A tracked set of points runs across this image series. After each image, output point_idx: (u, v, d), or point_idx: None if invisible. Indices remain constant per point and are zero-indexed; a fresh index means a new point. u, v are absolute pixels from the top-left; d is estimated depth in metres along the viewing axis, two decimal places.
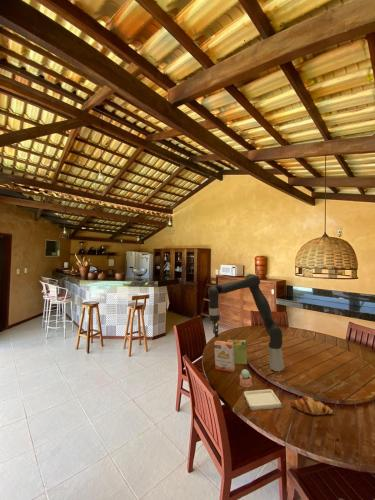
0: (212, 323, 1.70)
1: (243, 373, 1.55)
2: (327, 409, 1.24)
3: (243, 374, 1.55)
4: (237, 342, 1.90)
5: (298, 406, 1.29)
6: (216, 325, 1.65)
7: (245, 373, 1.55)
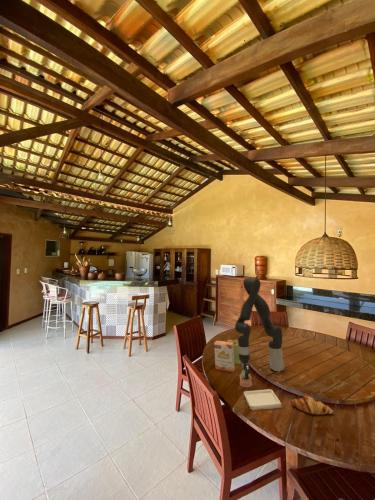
0: (242, 363, 1.56)
1: (243, 373, 1.55)
2: (327, 409, 1.24)
3: (243, 374, 1.55)
4: (237, 342, 1.90)
5: (298, 405, 1.29)
6: (247, 368, 1.50)
7: None
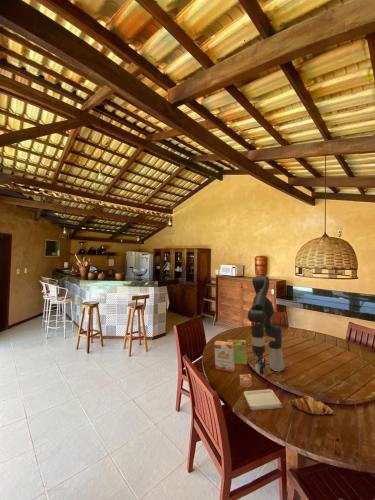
0: (256, 355, 1.37)
1: (257, 367, 1.37)
2: (327, 409, 1.24)
3: (257, 368, 1.37)
4: (237, 342, 1.90)
5: (298, 405, 1.29)
6: (263, 361, 1.32)
7: None
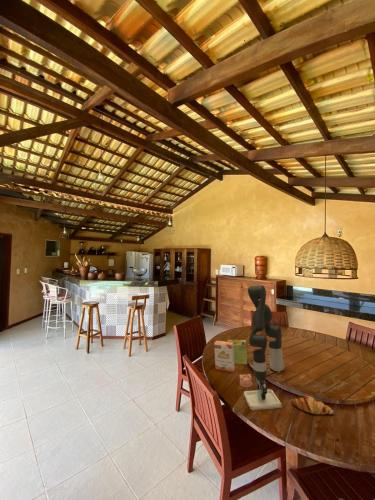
0: (258, 380, 1.37)
1: (259, 394, 1.37)
2: (327, 409, 1.24)
3: (259, 395, 1.36)
4: (237, 342, 1.90)
5: (298, 405, 1.30)
6: (265, 386, 1.32)
7: None
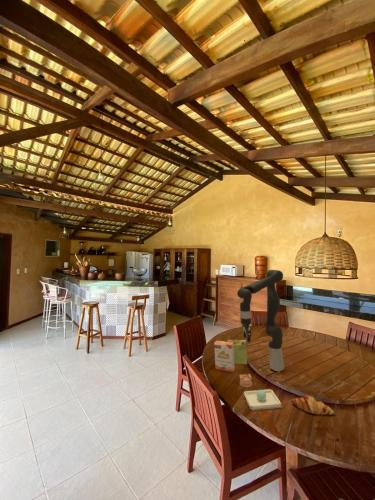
0: (244, 327, 1.61)
1: (259, 395, 1.37)
2: (328, 409, 1.24)
3: (259, 396, 1.36)
4: (237, 342, 1.90)
5: (298, 404, 1.30)
6: (249, 329, 1.56)
7: (261, 395, 1.36)
